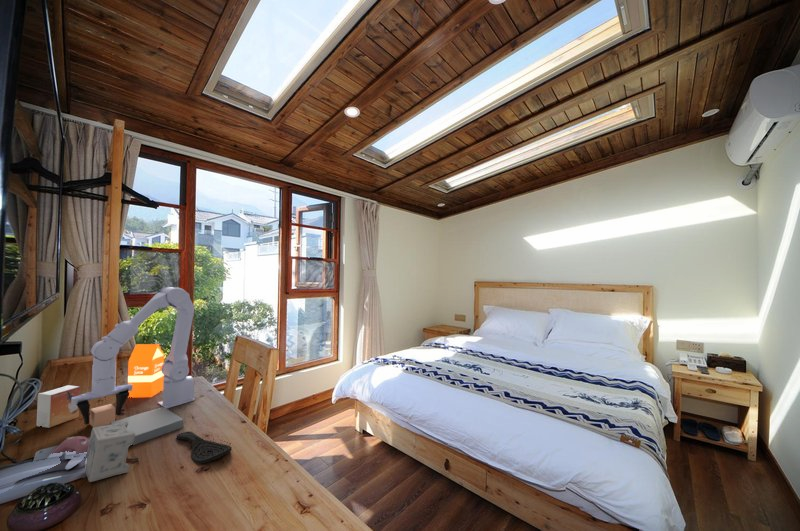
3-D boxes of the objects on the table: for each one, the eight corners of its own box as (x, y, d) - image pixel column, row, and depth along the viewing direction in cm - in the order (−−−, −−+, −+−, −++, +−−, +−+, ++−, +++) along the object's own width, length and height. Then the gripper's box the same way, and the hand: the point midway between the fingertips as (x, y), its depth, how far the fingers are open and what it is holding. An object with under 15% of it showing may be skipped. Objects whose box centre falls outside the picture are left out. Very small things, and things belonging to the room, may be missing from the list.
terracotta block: (110, 418, 105) (110, 403, 106) (115, 422, 103) (115, 407, 103) (90, 424, 101) (90, 409, 101) (94, 428, 99) (94, 413, 99)
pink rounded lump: (85, 470, 81) (100, 440, 84) (64, 472, 77) (81, 440, 80) (62, 462, 84) (78, 433, 87) (41, 463, 80) (58, 433, 83)
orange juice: (141, 390, 130) (142, 342, 130) (163, 389, 131) (165, 342, 131) (126, 397, 122) (128, 346, 122) (151, 397, 123) (152, 346, 123)
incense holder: (134, 470, 79) (136, 429, 79) (88, 488, 72) (90, 443, 72) (126, 455, 85) (127, 417, 85) (83, 470, 79) (84, 429, 79)
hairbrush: (193, 421, 99) (239, 441, 86) (194, 433, 99) (239, 454, 86) (163, 433, 92) (207, 456, 79) (163, 445, 92) (207, 471, 79)
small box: (48, 428, 98) (49, 395, 98) (35, 426, 99) (36, 393, 99) (79, 416, 106) (80, 386, 106) (67, 415, 107) (68, 384, 107)
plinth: (163, 413, 109) (163, 406, 109) (183, 427, 100) (183, 419, 100) (110, 430, 98) (110, 422, 98) (127, 447, 89) (127, 438, 89)
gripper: (128, 369, 110) (127, 407, 110) (69, 381, 98) (68, 424, 98) (135, 373, 107) (134, 413, 106) (75, 386, 95) (73, 430, 94)
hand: (102, 418), depth 102 cm, fingers open, 7 cm apart
